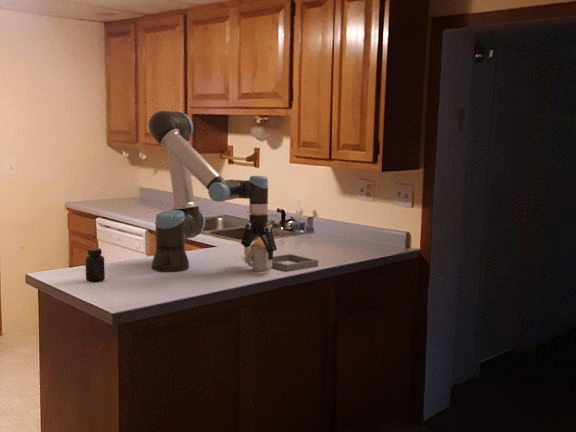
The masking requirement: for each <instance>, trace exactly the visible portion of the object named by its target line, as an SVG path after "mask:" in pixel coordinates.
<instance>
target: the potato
mask: <svg viewBox="0 0 576 432" xmlns="http://www.w3.org/2000/svg"><path fill="white" fill-rule="evenodd" d="M249 247H251V251H253V248H254V247H265V245H264V243H263V241H262V239H260V240H259V239H258V240H257V241H255V242H252V243H251V245H250V246H249ZM251 256H253V254H251Z"/></svg>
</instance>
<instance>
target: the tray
mask: <svg viewBox="0 0 576 432" xmlns="http://www.w3.org/2000/svg"><path fill="white" fill-rule="evenodd" d="M286 261H290V262H291V261H292V262H293V263H289V264H286V263H283V262H286ZM294 262H295V263H294ZM318 266H319V259H315V258H310V257H305V256H301V255H296V254H292V253H288V254H287V253H286V254H281V255H280V254H279V255H273V259H272V267H270V269H276V270H281V271H284V272H291V271H296V270H301V269H302V270H303V269H308V268H314V267H318Z"/></svg>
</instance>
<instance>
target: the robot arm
mask: <svg viewBox="0 0 576 432" xmlns="http://www.w3.org/2000/svg"><path fill="white" fill-rule="evenodd" d="M193 125H194V124H193V121H192V119H191V118H190V117H189V115H187V114H186V113H184V112H180V111H170V110H167V111H166V110H160V111H157V112H155V113H154V114H152V115H151V117H150V119H149V120H148V130H149V133H150V135H151V136H152V138H153V139H154V140H155V141H156V142H157V143H158V145H160V147H162V148H166V150H167V159H168V166H169V175H170V180H171V188H172V197H173V206H172V207H171V209H170V210H163V211H160V212H158V213H157V214H156V216H155V223H154V224H155V252H154V254H153V258H152V262H151V269H152V270H153V271H156V270H157V272H166V273H167V272H169V273H170V272H182V271H186V270H189V268H190V261H189V258H188V255H187V253H186V249H185V248H186V246H185V243H186V241H185V240H187V239H192V238H195V237H197V236H199V235H201V233H202V232H203V231H204V229H205V226H206V218H205V216H204V214H203V213H202V212H201V211H200V208H199V207H200V206H199V204H198V203H196V202H195V198H194V197H195V196H194V189H193V182H192V181H193V180H192V175H193V176H194V178H196V179H197V180H198V182H200V183H201V184H202V185H203V186H204V187H205V189H206V190H207V193H208V196H209V198H210V199H211V200H212V201H213V202H215V203H216V202H225V201H229V200H236V199H244V200H245V199H246V200H249V206H248V209H249V212H248V213H249V217H248V218H249V220H248V221H249V223H246V224H245V229H244V230H245V231H244V233H243V236H242V239H241V241H240V244H241V246H243V247H244V263H245V264H247V262H246V255H247V253H248V252H249V251H251V247H250V246H251V245H252V244H253V241H254V239H255V238H256V237H259V238H260V240H262V241H263V243H264V245H265V247H266V249H267V251H266V268H270V269H271V267H272V259H273V256H274V252H275V251H277V250H278V248H277V245H276V241H275V238H274V235H273V228H272V226H267V224H268V223H269V220H268V218H269V216H268V211H269V208H268V204H269V179H268V177H267V176H265V175H251V176H250V177H249V180H247V179H246V180H241V179H224V178H223V177H222V176H221V175H220V173H218V172H217V170H215V168H214V167H212V165H210V164H209V162H208V161H207V160H206V159H205V158H204V157H203V156H202V155H200V153H199V152H198V151H197V150H196V149H195V148H194V147H193V146H192V145H191V144H190V143H191V139H190V137H191V135H192V133H193V131H194V126H193ZM269 248H270V249H269ZM250 262H251V263H252V255H251V256H250Z"/></svg>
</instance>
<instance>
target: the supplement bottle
mask: <svg viewBox="0 0 576 432" xmlns="http://www.w3.org/2000/svg"><path fill="white" fill-rule="evenodd" d="M102 253H103V252H102V248H99V247H93V248H88V250H87V256H86V257H85V280H87V281H86V282H88V281H90V282H89V283H100V282H99V281H101V282H103V280H104V281H105V280H106V276H105V275H106V273H105V257H104V256H103V254H102Z"/></svg>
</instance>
